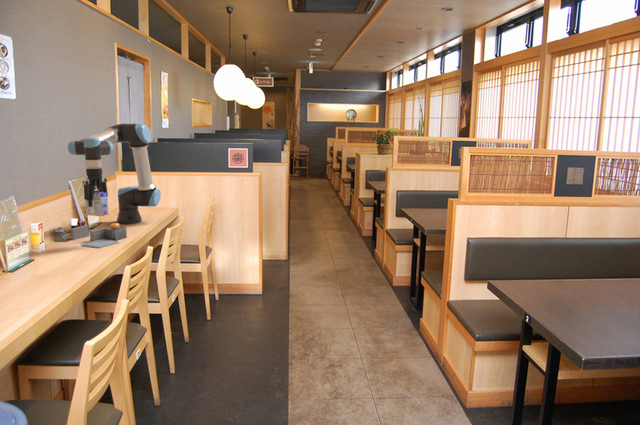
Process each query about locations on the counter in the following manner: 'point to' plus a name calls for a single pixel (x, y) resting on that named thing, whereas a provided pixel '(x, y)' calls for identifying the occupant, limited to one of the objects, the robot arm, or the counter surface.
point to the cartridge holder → (87, 233)
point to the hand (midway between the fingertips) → (97, 211)
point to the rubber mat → (100, 243)
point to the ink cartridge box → (98, 204)
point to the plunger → (115, 225)
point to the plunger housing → (115, 233)
